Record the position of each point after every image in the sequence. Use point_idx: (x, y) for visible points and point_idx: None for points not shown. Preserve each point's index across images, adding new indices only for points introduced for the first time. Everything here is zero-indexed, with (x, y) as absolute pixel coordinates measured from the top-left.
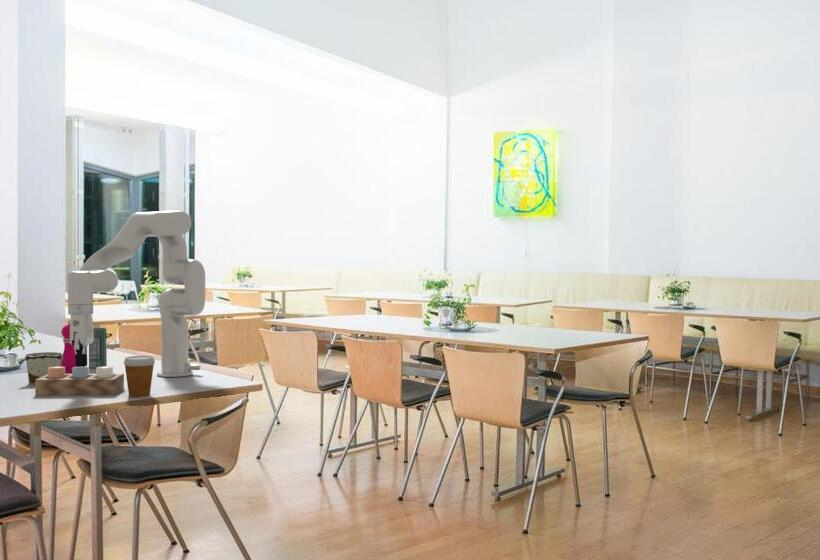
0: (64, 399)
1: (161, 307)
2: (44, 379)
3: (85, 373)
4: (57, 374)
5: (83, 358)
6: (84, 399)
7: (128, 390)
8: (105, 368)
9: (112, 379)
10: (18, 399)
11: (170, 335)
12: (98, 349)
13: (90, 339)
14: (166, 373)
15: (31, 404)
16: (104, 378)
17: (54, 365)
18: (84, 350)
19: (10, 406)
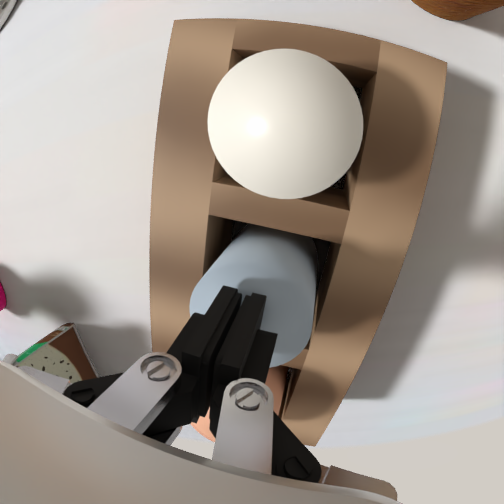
0: (455, 304)
1: None
2: (326, 426)
3: (302, 270)
4: (279, 402)
5: (249, 355)
6: (489, 224)
7: (469, 15)
8: (353, 111)
9: (445, 73)
10: (378, 426)
11: None
12: None
13: (95, 492)
14: (4, 2)
15: (484, 384)
16: (403, 124)
17: (43, 369)
18: (240, 417)
19: (478, 419)
